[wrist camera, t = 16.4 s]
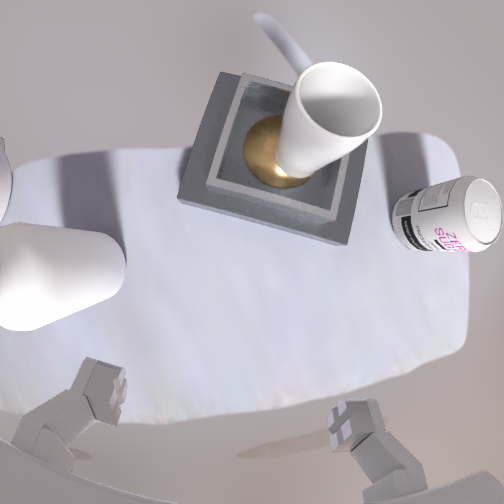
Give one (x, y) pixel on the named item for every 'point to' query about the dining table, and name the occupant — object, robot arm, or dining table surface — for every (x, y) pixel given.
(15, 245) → the white bottle
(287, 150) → the drinking glass
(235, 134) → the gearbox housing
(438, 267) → the dining table surface
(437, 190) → the supplement can
